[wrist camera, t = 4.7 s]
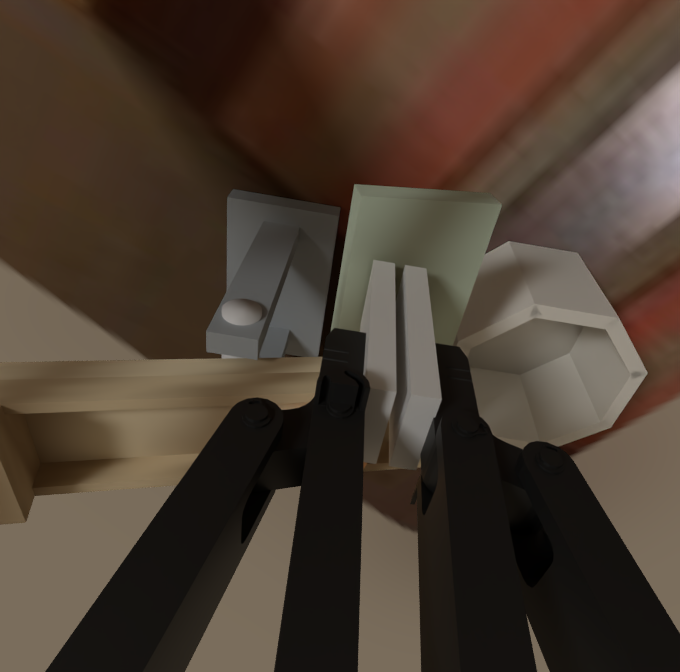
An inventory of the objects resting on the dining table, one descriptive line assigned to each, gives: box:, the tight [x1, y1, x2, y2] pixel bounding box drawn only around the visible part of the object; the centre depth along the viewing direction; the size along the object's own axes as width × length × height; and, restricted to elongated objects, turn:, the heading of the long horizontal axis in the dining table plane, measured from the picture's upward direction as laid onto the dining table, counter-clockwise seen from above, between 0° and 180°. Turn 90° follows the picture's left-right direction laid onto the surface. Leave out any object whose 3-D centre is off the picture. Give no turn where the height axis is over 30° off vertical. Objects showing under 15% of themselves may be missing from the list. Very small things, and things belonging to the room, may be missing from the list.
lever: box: [0, 184, 502, 524], centre depth 18 cm, size 18×12×3 cm
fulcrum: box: [206, 189, 341, 360], centre depth 26 cm, size 6×10×12 cm, turn 172°
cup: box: [453, 241, 648, 449], centre depth 28 cm, size 9×9×6 cm
